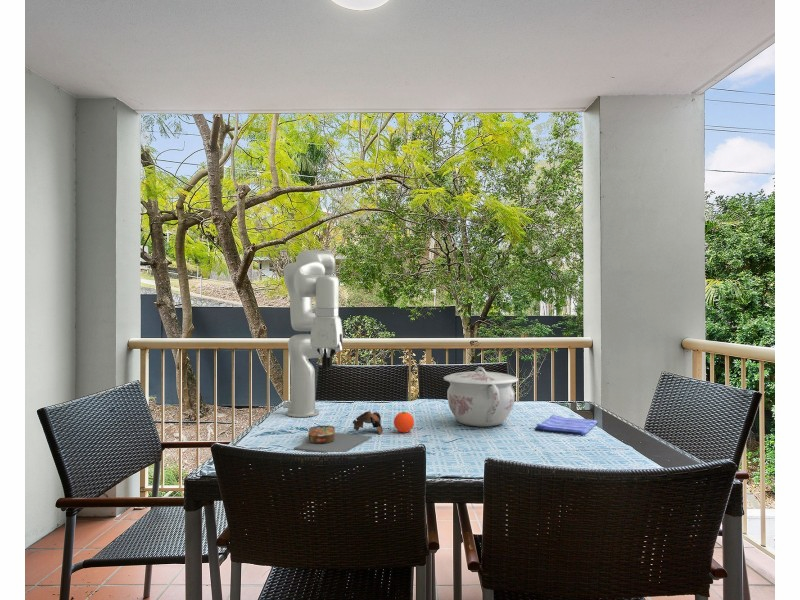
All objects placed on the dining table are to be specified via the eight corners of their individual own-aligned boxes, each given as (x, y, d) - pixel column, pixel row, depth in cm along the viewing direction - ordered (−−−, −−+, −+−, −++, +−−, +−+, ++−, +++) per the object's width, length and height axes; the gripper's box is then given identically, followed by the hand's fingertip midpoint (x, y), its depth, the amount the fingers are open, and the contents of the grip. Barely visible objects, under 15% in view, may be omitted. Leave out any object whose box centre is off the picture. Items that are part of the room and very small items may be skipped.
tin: (310, 425, 197) (335, 423, 198) (310, 435, 197) (335, 432, 198) (307, 436, 182) (334, 433, 183) (307, 446, 182) (334, 443, 183)
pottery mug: (378, 438, 194) (366, 417, 194) (357, 447, 199) (345, 427, 198) (392, 422, 205) (380, 402, 205) (372, 431, 209) (360, 411, 209)
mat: (293, 449, 178) (293, 447, 178) (329, 433, 199) (329, 432, 199) (340, 454, 172) (340, 453, 172) (372, 437, 193) (372, 436, 193)
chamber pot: (461, 412, 233) (461, 361, 233) (528, 420, 220) (528, 365, 219) (429, 426, 209) (429, 368, 209) (502, 435, 195) (502, 374, 195)
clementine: (394, 429, 205) (394, 408, 205) (414, 429, 205) (414, 409, 205) (393, 434, 197) (393, 413, 197) (413, 434, 197) (413, 413, 197)
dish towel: (533, 432, 202) (533, 424, 202) (551, 419, 223) (551, 412, 223) (584, 438, 194) (584, 429, 194) (598, 424, 215) (598, 416, 215)
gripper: (301, 313, 191) (301, 369, 192) (341, 314, 185) (341, 372, 186) (313, 312, 198) (313, 366, 199) (352, 313, 192) (352, 368, 193)
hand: (327, 368), depth 192 cm, fingers closed
